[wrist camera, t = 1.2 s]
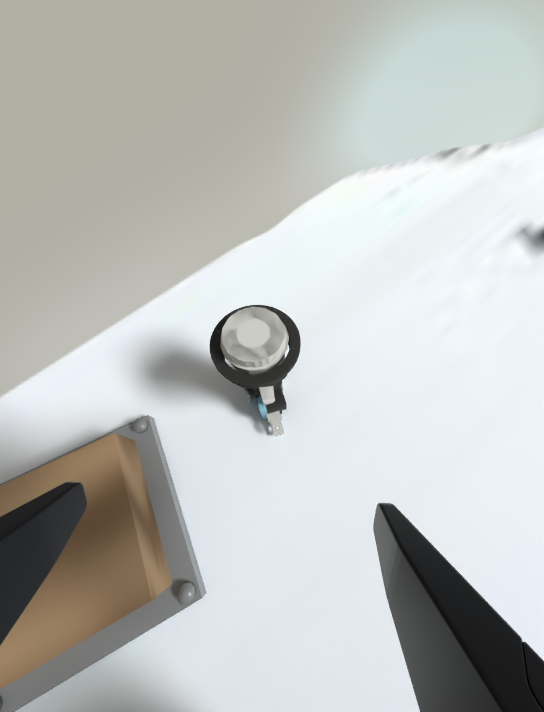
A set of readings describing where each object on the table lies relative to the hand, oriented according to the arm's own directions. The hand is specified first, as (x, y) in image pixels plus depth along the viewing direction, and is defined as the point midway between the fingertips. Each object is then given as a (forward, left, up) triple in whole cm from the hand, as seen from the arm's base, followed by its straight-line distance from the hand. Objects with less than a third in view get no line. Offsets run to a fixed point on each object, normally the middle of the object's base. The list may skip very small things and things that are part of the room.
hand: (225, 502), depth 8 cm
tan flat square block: (-3, +12, -13) cm, 18 cm away
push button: (+8, 0, -14) cm, 16 cm away
